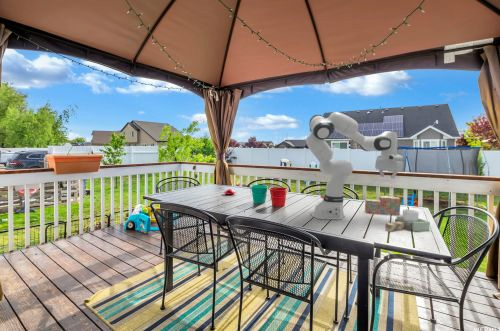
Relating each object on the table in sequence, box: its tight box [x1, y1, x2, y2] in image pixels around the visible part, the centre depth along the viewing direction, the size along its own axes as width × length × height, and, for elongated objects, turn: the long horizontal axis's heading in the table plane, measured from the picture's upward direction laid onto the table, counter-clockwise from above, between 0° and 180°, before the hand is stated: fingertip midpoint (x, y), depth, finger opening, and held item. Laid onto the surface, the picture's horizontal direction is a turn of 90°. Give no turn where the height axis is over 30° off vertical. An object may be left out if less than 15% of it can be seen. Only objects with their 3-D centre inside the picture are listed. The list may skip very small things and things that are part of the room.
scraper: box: [384, 218, 413, 233], centre depth 142 cm, size 14×9×4 cm, turn 113°
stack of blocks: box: [364, 195, 401, 217], centre depth 175 cm, size 21×6×12 cm, turn 74°
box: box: [395, 215, 431, 232], centre depth 145 cm, size 11×13×5 cm
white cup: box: [402, 208, 420, 229], centre depth 145 cm, size 8×8×10 cm
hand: (387, 177), depth 159 cm, fingers open, 8 cm apart
